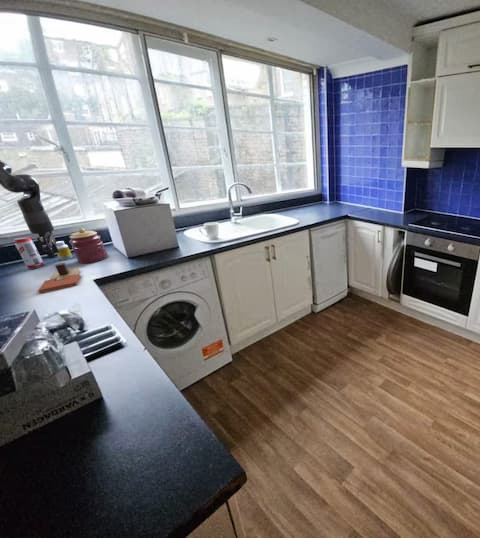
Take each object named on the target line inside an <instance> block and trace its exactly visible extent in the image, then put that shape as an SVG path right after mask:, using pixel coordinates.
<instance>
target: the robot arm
mask: <svg viewBox="0 0 480 538" xmlns="http://www.w3.org/2000/svg"><path fill="white" fill-rule="evenodd" d="M12 173H13V169H12V167H11V166H10V165H9V164H7V163H6V162H4V161H3V160H1V159H0V186H1V187H2V188H3V189H4V190H6V191H8V192H11V193H13V194H19V193H22V194H23V195H22V197H20V198H19V199H17V200H16V203H17V205H18V207H19V209H20V211H21V213H22V217H23V220H24V222H25V223H26V226H27V229H28V230H29V232H30V234H33V235H38V237H37V238H36V240H37V241H38V243H39V247H40V248H41V250H42V252H43V251H44V252H45V254H46V256H47V259H56V254H57V253H59V251H58V248H57V246H56V242H57V240H56V237H55V236H54V233H53V231H54V230H55V228H54V225H53V223H52V221H51V219H50V217H49V215H48V213H47V211H46V210H45V207H44V205H43V203H42V200H41V188H40V184H39V182H38V180H37V179H36V178H35V177H34V176H32V175H30V174H28V173H21V174H20V173H19V174H12Z"/></svg>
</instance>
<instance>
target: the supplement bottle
mask: <svg viewBox="0 0 480 538" xmlns="http://www.w3.org/2000/svg"><path fill="white" fill-rule="evenodd" d="M56 246H57V248H58V251H59V253H56V254H57V256H58V259H59V260H60V261H66V260H69V259H72V258H73V257H74V255H73V254H72V252H71V249H70V247H69V245H68V244H65V241H64V240H58V241H56Z"/></svg>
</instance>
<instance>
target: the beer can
mask: <svg viewBox="0 0 480 538" xmlns="http://www.w3.org/2000/svg"><path fill="white" fill-rule="evenodd" d="M13 244H14V245H15V248H16V249H17V251H18V253H19V254H20V256H21V258H22V261H23V262H24V264H25V266H26V268H27V269H30V270H35V269H39V268H42V267H44V265H45V263H44V261H43V258H42V256H41V255H40V253H39V251H38V249H37V247H36V245H35V243H34V241H33V239H31V237H30V236H21V237H20V236H19V237H16V238H14V243H13Z"/></svg>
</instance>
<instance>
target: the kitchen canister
mask: <svg viewBox="0 0 480 538" xmlns="http://www.w3.org/2000/svg"><path fill="white" fill-rule="evenodd" d="M68 238H70V240H69V241H68V242H69V244H70V245H71V249H72V250H73V252H74V255H75V257H76V261H78V263H80V264H90V263H95V262H99V261H102V260H105V259H106V258H108V252H107V250H106V247H105V245H104V242H103V241H102V239H101V235H98V232H97V231H95V230H85V228H83V227H82V228H79V229H77V231H76V232H74V233H71V235H70V236H68Z"/></svg>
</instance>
